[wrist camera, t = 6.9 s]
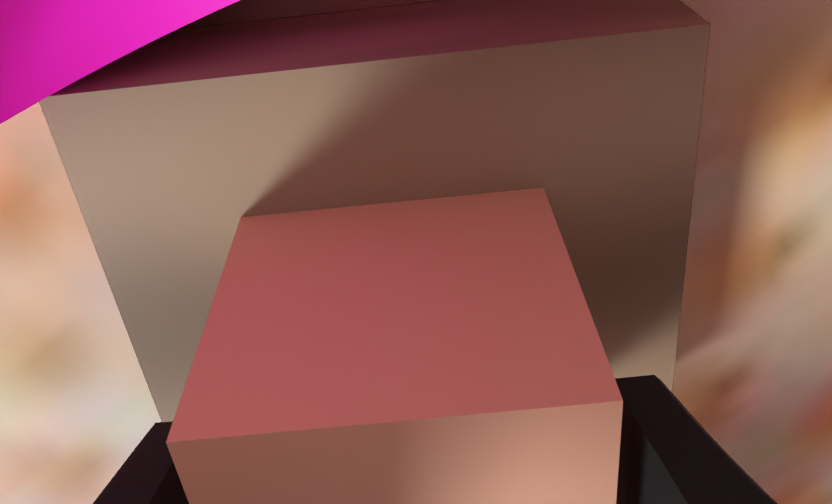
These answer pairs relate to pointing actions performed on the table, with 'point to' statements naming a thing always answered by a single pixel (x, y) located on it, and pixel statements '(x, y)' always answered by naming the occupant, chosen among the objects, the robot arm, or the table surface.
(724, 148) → the table surface
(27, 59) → the toy block
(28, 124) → the table surface
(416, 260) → the terracotta cube
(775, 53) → the table surface
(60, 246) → the table surface
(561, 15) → the taupe block
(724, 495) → the robot arm
